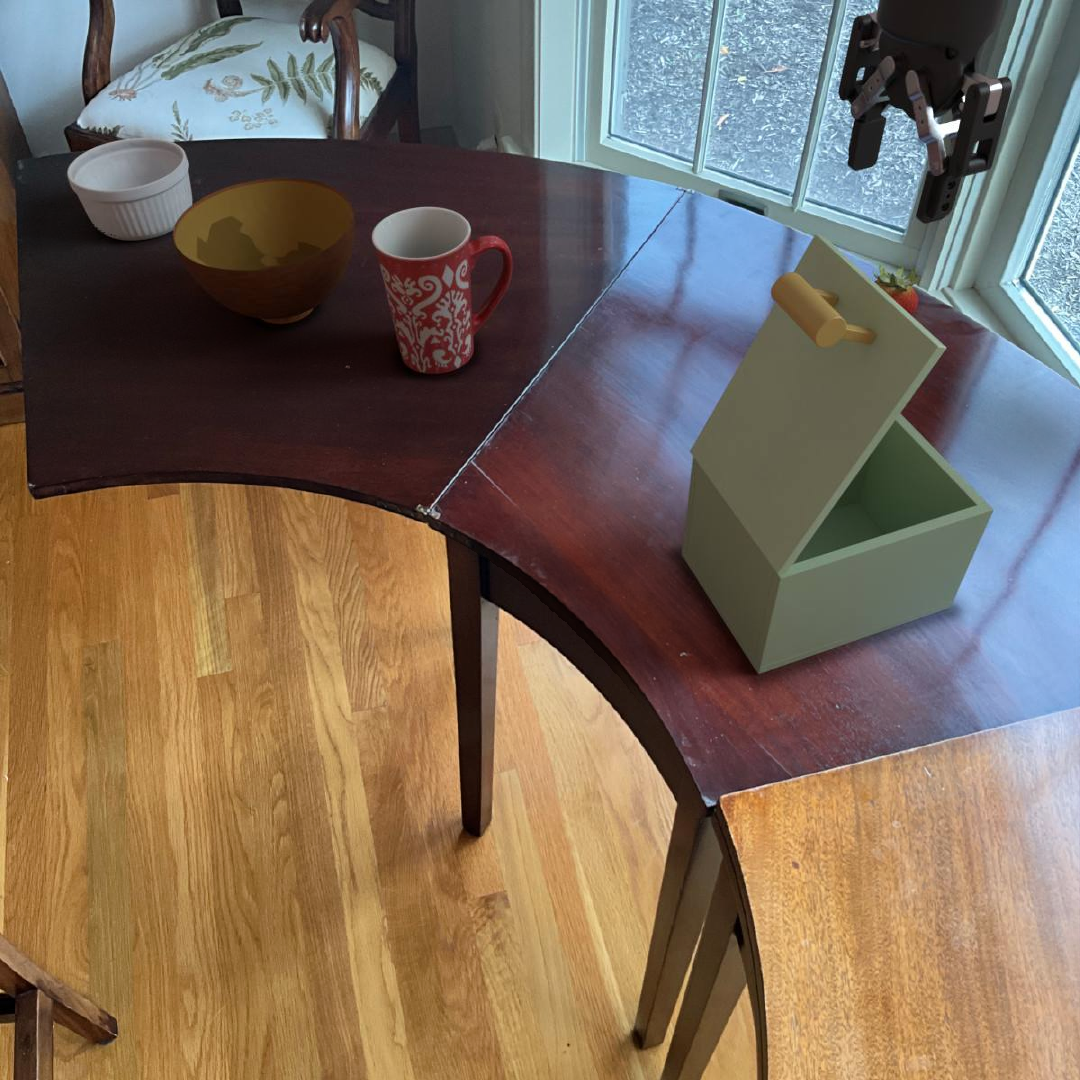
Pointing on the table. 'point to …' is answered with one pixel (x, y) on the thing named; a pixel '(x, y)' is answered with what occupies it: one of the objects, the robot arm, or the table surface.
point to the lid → (811, 399)
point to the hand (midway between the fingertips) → (894, 192)
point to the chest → (842, 555)
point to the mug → (435, 285)
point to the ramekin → (133, 187)
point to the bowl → (268, 246)
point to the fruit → (899, 288)
